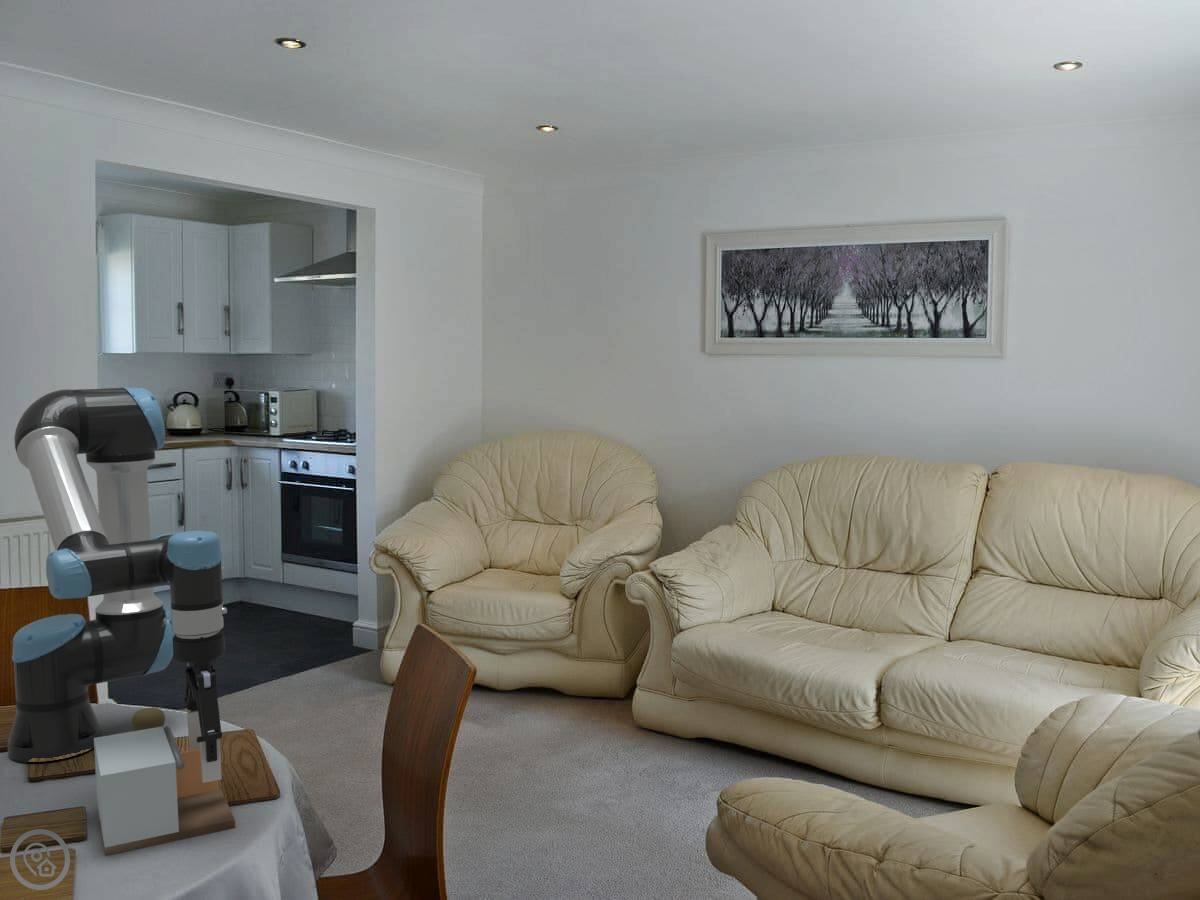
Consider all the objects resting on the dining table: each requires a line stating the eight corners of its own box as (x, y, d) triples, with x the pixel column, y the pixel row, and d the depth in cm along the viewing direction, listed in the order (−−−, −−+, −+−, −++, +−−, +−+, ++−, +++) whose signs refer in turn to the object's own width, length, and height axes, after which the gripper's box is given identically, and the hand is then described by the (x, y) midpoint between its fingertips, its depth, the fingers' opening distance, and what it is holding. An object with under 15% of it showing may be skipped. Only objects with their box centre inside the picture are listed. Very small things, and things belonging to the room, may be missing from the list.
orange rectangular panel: (107, 809, 159) (104, 765, 158) (218, 787, 167) (216, 745, 166) (107, 811, 158) (105, 767, 158) (219, 789, 166) (217, 747, 165)
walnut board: (97, 811, 166) (97, 804, 165) (217, 787, 174) (217, 780, 174) (105, 855, 152) (104, 847, 152) (235, 827, 160) (234, 819, 160)
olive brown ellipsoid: (156, 780, 177) (153, 717, 176) (124, 777, 178) (120, 715, 177) (177, 766, 183) (174, 705, 181) (146, 763, 184) (143, 702, 183)
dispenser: (97, 804, 165) (93, 738, 164) (173, 789, 171) (170, 725, 170) (104, 847, 152) (100, 775, 150) (187, 830, 157) (184, 760, 156)
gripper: (238, 648, 153) (244, 788, 156) (211, 611, 175) (216, 734, 177) (183, 656, 150) (190, 799, 152) (162, 617, 172) (169, 743, 174)
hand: (204, 764), depth 165 cm, fingers open, 13 cm apart
